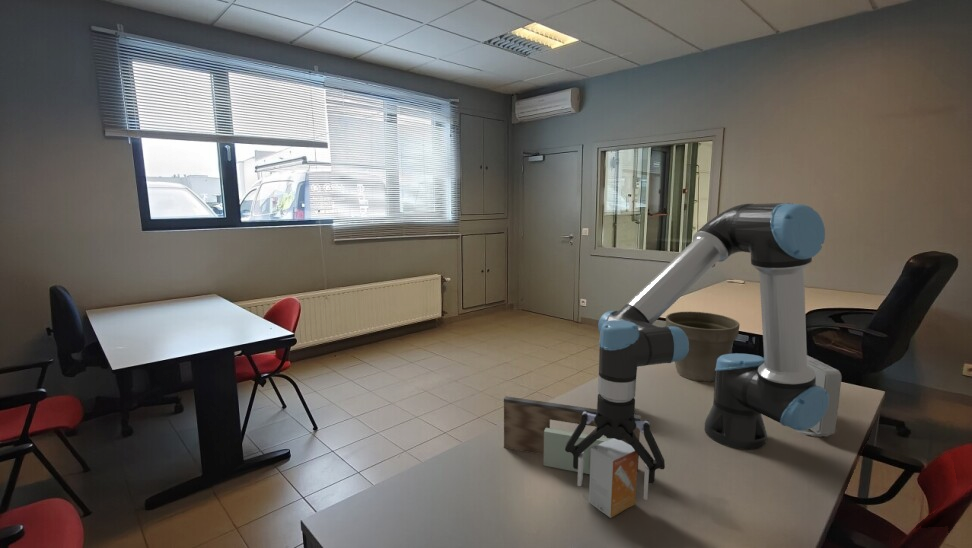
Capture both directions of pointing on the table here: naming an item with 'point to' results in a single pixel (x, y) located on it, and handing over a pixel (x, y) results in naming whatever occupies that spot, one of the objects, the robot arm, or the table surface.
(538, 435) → the wall frame
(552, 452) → the sliding door
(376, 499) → the table surface
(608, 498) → the small box
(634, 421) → the robot arm
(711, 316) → the plant pot
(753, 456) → the table surface
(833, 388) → the network device
